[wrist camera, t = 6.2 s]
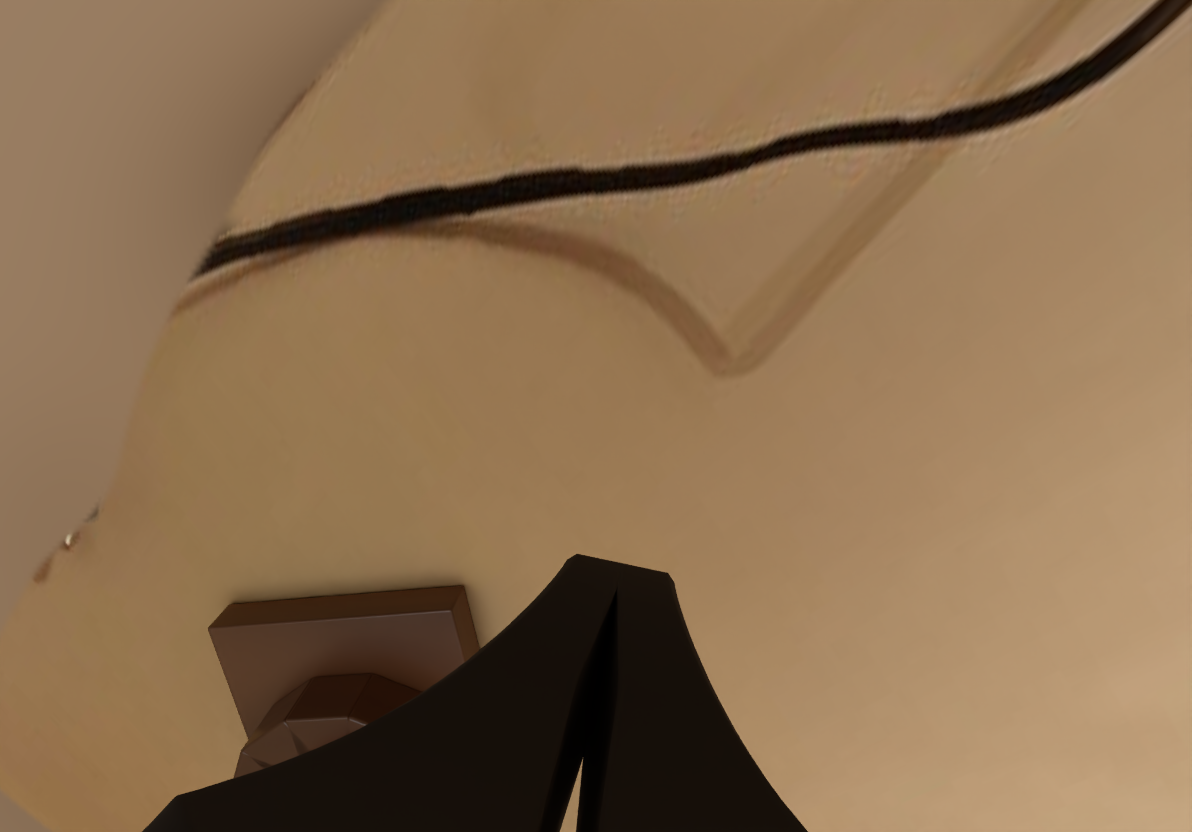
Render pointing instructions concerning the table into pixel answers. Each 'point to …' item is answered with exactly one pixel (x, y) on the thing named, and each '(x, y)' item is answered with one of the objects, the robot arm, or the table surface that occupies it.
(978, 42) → the table surface
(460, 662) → the switch block
